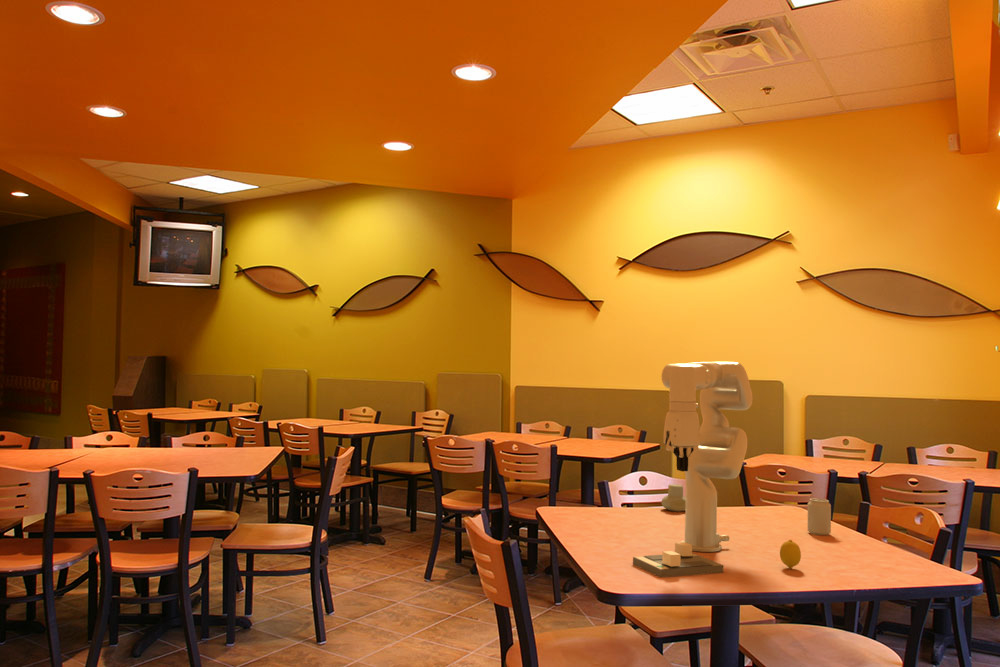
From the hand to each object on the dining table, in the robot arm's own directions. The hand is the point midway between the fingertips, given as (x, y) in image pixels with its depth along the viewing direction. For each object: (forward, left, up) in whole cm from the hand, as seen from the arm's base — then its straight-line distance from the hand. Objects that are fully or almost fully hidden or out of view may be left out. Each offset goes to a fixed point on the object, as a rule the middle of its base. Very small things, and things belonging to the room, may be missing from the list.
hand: (682, 470), depth 216 cm
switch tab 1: (+11, +12, -23) cm, 28 cm away
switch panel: (+6, +7, -26) cm, 28 cm away
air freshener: (-47, -73, -26) cm, 91 cm away
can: (-72, -22, -26) cm, 80 cm away
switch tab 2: (+1, +3, -23) cm, 24 cm away
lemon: (-26, +15, -26) cm, 40 cm away
